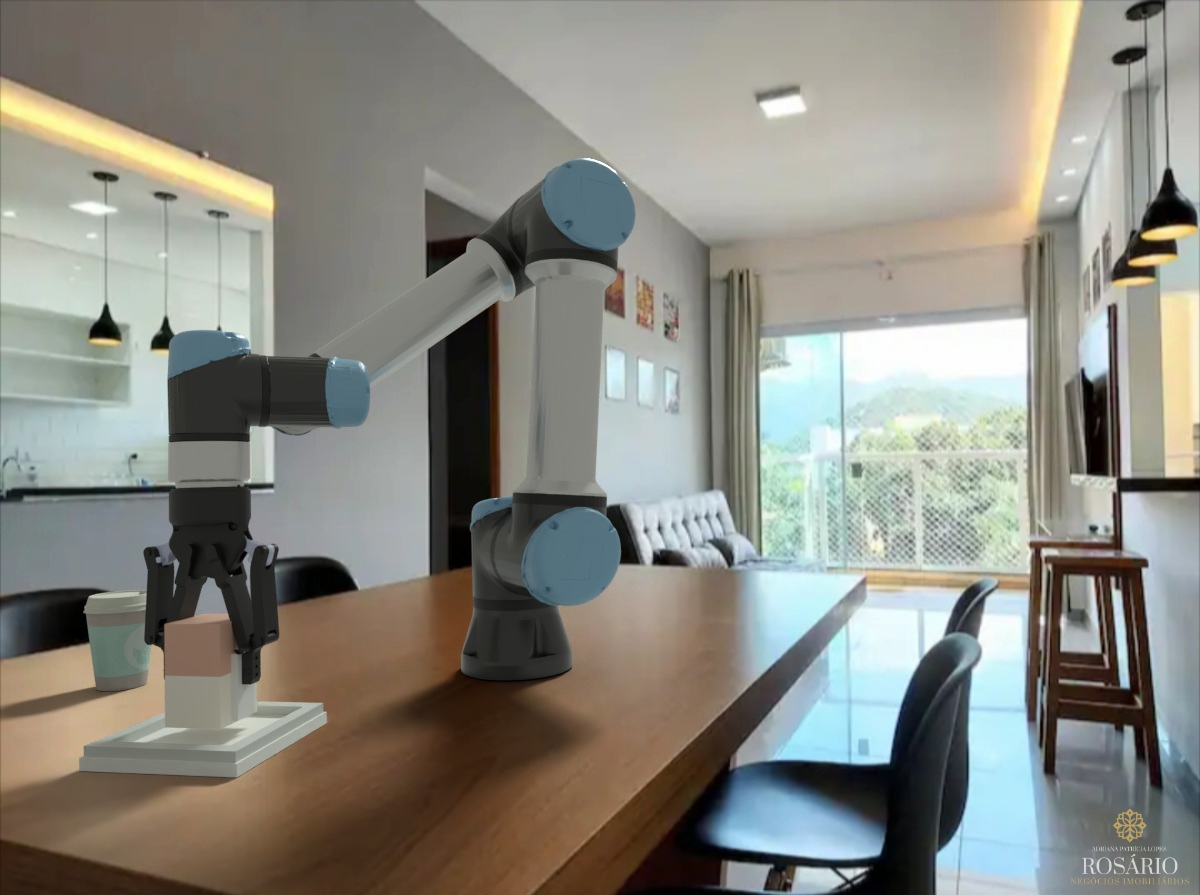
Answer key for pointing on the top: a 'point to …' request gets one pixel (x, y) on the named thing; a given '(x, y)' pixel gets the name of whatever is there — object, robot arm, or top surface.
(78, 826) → the top surface
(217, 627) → the brick stack
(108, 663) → the coffee cup
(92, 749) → the base plate
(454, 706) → the top surface
